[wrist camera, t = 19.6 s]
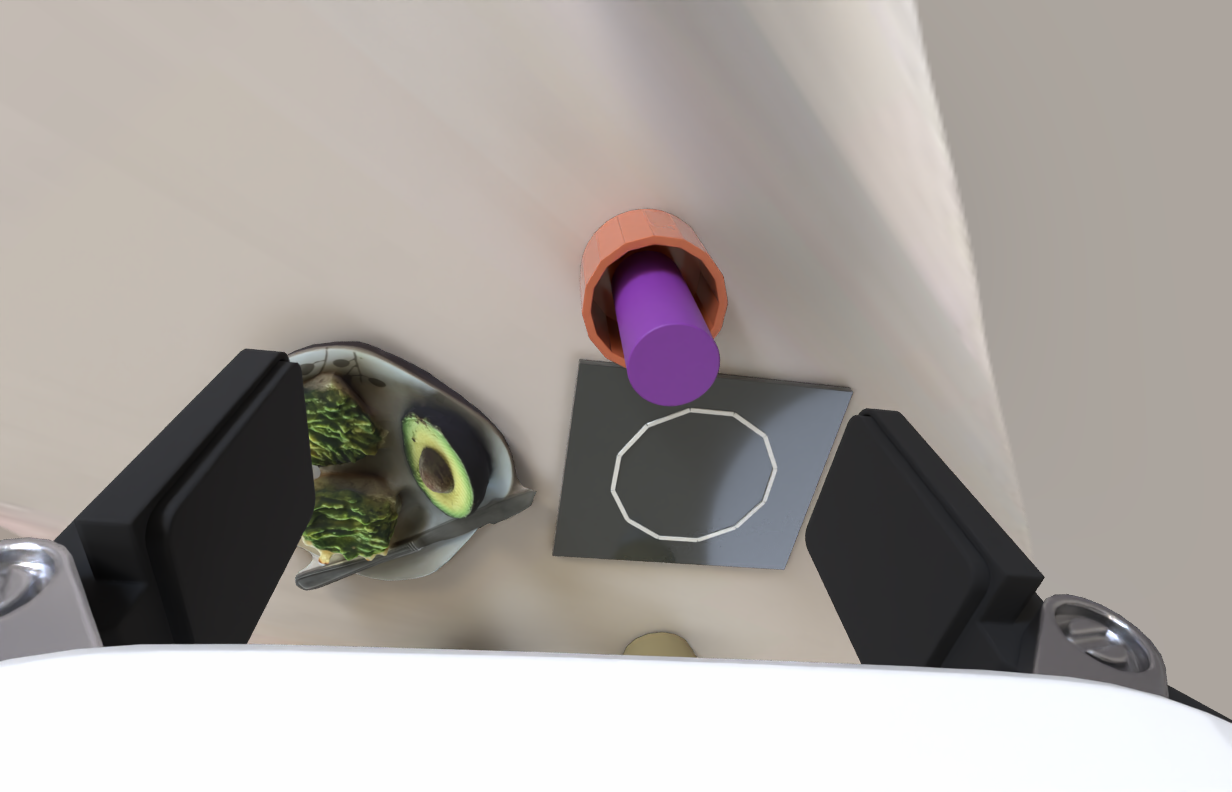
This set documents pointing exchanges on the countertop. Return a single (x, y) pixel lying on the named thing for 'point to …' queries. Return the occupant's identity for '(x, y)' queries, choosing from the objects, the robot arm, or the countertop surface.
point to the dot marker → (662, 331)
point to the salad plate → (395, 467)
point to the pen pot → (635, 236)
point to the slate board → (693, 469)
